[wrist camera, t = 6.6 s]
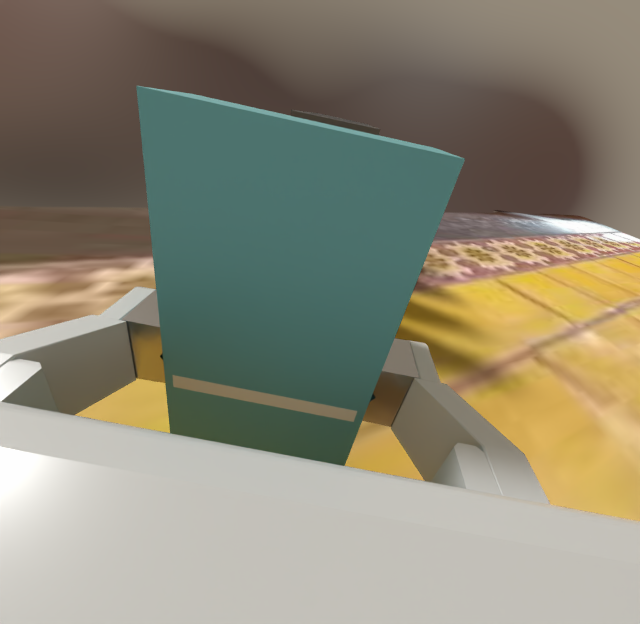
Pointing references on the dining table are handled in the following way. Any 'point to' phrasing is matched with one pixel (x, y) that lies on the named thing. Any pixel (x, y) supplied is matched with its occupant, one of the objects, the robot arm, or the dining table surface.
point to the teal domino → (281, 266)
